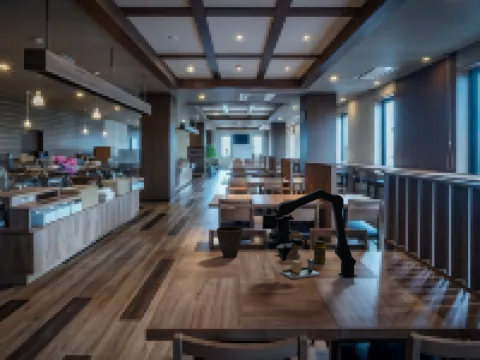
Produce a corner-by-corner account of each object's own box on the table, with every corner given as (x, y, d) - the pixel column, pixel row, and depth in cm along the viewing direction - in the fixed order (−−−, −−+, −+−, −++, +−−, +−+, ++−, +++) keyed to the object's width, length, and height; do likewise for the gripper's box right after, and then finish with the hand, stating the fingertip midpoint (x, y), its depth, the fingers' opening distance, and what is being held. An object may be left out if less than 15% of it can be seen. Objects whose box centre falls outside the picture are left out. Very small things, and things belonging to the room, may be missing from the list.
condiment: (328, 263, 232) (329, 241, 231) (319, 266, 226) (319, 243, 225) (317, 260, 237) (317, 239, 236) (308, 263, 231) (308, 241, 230)
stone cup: (306, 258, 243) (306, 231, 242) (288, 260, 238) (288, 233, 237) (291, 252, 257) (291, 227, 256) (274, 254, 251) (274, 229, 251)
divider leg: (300, 272, 208) (300, 262, 208) (296, 273, 207) (296, 262, 207) (294, 269, 214) (294, 259, 214) (289, 270, 213) (289, 259, 213)
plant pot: (212, 258, 242) (212, 230, 241) (221, 252, 256) (221, 225, 255) (238, 260, 237) (238, 231, 236) (245, 254, 251) (245, 227, 251)
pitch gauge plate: (320, 275, 209) (320, 262, 208) (291, 279, 202) (291, 265, 202) (307, 269, 219) (307, 257, 218) (280, 273, 212) (280, 260, 212)
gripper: (292, 225, 217) (291, 255, 218) (258, 227, 209) (258, 259, 210) (304, 228, 206) (303, 260, 207) (269, 231, 199) (268, 264, 200)
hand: (283, 261), depth 207 cm, fingers closed
